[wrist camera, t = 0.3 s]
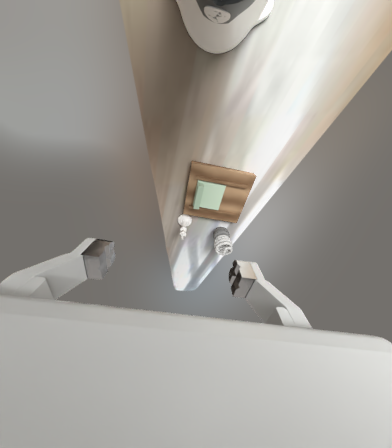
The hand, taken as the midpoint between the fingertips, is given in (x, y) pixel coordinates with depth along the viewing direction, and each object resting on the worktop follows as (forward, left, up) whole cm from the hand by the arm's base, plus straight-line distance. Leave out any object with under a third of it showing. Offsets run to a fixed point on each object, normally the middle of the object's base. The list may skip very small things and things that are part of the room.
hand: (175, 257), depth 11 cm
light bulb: (+24, +14, -38) cm, 47 cm away
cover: (+11, +7, -35) cm, 38 cm away
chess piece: (+23, +1, -38) cm, 44 cm away
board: (+11, +9, -38) cm, 40 cm away
